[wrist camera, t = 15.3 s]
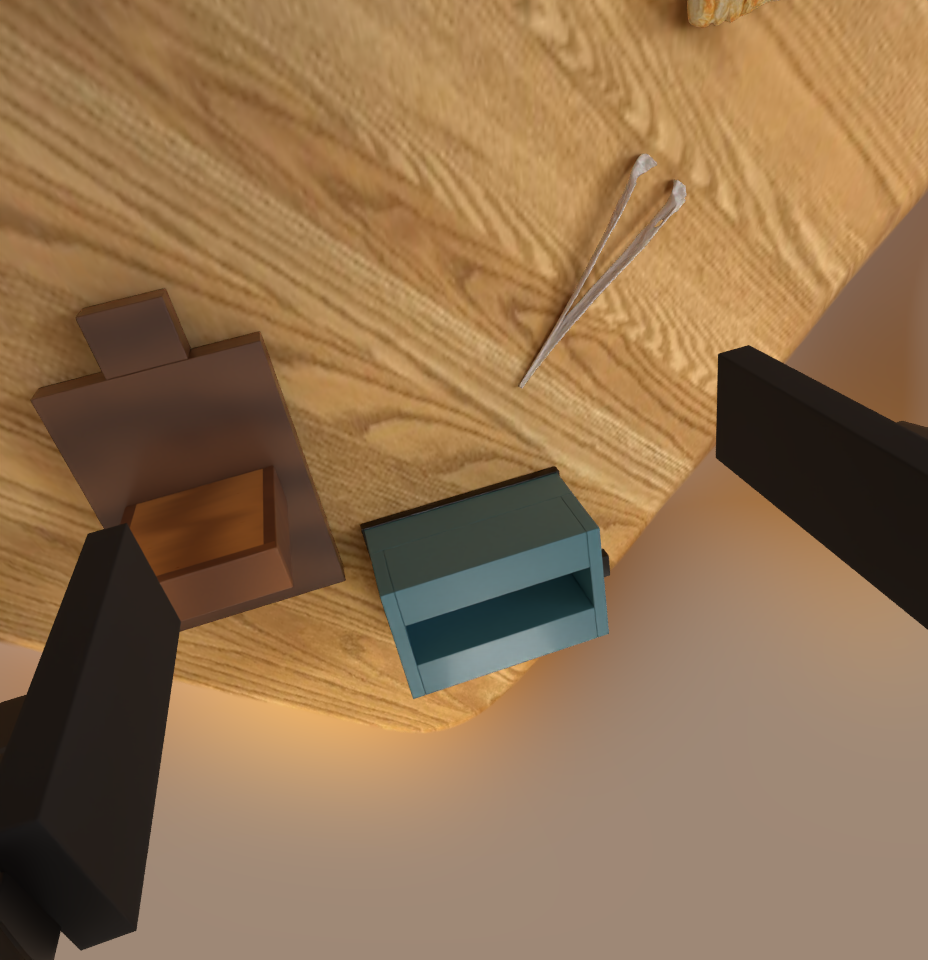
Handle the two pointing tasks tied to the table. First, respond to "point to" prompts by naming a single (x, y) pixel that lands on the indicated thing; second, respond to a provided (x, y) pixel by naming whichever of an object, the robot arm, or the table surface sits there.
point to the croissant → (719, 10)
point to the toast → (217, 542)
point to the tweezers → (629, 254)
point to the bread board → (183, 428)
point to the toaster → (489, 579)
